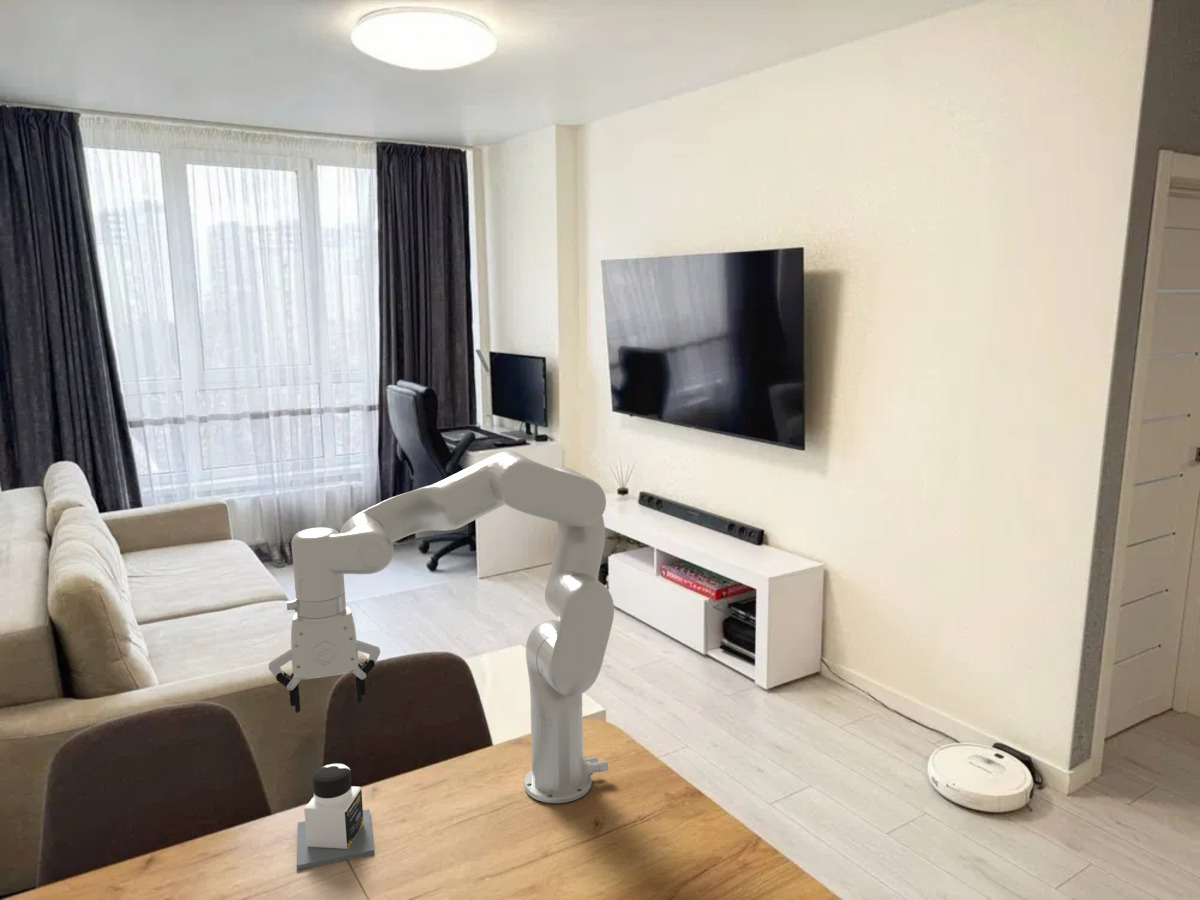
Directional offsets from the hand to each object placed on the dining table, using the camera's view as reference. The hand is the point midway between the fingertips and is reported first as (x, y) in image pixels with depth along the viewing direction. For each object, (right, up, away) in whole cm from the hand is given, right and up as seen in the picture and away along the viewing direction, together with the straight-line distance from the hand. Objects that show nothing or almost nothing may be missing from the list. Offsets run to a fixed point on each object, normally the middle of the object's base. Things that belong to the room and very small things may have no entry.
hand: (328, 704), depth 140 cm
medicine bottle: (0, -23, +4) cm, 24 cm away
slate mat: (0, -24, +4) cm, 24 cm away
